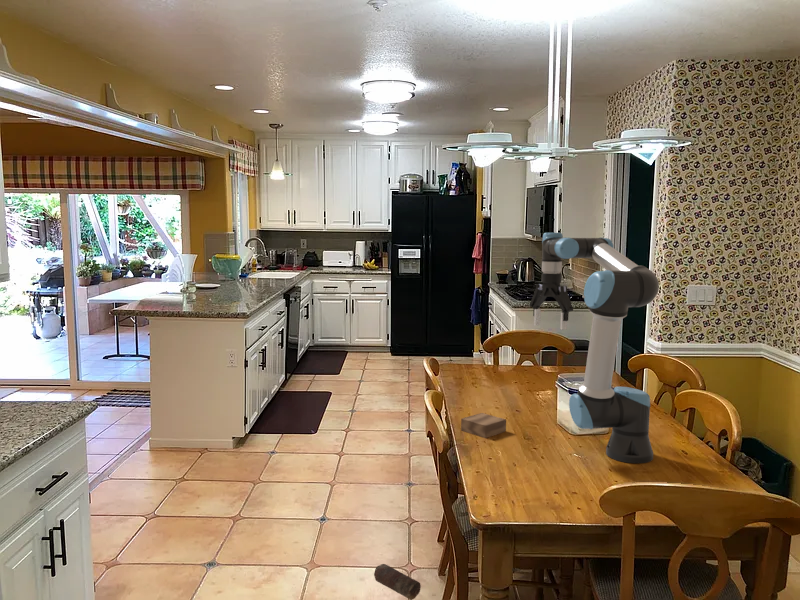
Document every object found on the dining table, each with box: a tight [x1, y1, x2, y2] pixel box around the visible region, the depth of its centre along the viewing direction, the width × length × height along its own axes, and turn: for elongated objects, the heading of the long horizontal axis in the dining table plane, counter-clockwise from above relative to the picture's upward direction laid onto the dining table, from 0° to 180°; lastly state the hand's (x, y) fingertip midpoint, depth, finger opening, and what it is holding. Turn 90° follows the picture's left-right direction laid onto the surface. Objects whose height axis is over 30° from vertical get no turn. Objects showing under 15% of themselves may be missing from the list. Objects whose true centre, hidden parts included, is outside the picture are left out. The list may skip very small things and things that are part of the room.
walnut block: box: [460, 412, 507, 439], centre depth 247 cm, size 12×12×5 cm
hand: (550, 327), depth 253 cm, fingers open, 13 cm apart
